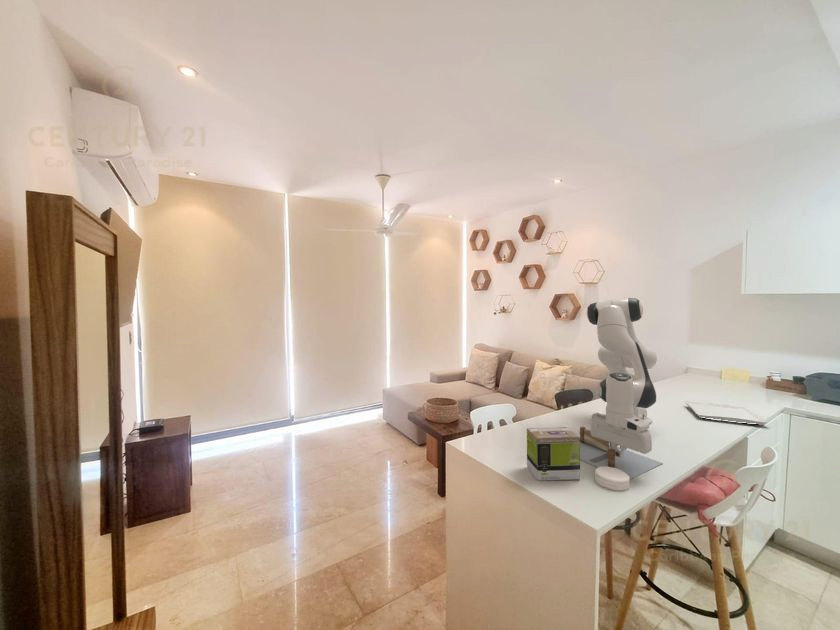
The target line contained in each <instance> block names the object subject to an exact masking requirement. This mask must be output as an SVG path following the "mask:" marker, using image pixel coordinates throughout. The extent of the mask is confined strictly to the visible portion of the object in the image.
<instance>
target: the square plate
mask: <svg viewBox="0 0 840 630" xmlns="http://www.w3.org/2000/svg"><path fill="white" fill-rule="evenodd" d="M684 403H685V404H686V405H687V407H688V408H689V409H691V410H692V412H694V413H695V415H696V414H697V415H698V416H699V417H698V416H697V415H696V416H697V417H698V418H700V417H705V418H713V419H721V420H728V421H736V422H746V423H756V424H759V425H758V426H762V425H765V424H767V423H768V421H767V420H766V419H764V418H762V417H761V416H759V415H758V414H756V413H755V412H753V411H751V410H750V409H748V408H746V407H743V406H737V405H730V404H729V405H728V404H720V403H712V402H711V403H710V402H700V401H698V402H697V401H684ZM689 404H693V405H705V406H713V407H722V408H732V409H743V410H745V411H746V412H747V413H748V414H750V415H751V416H752V417H754V418H755V419H757V420H758V421H755V420H748V419H741V418H733V417H722V416H708V415H699V414H698V413H697V411H696V410H695V409H694V408H693V407H692V406H690V405H689Z"/></svg>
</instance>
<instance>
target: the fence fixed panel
mask: <svg viewBox="0 0 840 630" xmlns="http://www.w3.org/2000/svg"><path fill="white" fill-rule="evenodd" d="M590 430H591V429H588V428H587V427H584V426H580V427H579V437H580V442H581V443H587V444H590V445H593V446H595V447H598V448H601V449H603V450H606V451H608V449H609V444H610V446H611V443H610V442H608V441H605V440H602V439H599V438H596V437H593V436H592V435H591V433H590Z"/></svg>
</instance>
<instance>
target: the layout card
mask: <svg viewBox="0 0 840 630" xmlns="http://www.w3.org/2000/svg"><path fill="white" fill-rule="evenodd" d="M617 447H618V450H619V451H621V449H620V446H617ZM609 449H610V443H609ZM580 462H584V463H587V464H588V465H591V466H593V467H595V468H598V467H608V451H606V450H603V449H601V448H598V447H595V446H593V445H590V444H587V443H581V442H580ZM662 465H664V462H661V461H658V460H657V459H653V458H650V457H647V456H644V455H641V454H638V453H636V452H633V451H630V450H627V449H626V450H625V452H624V453H623V458H620V457H617V456H615V468H616V469H619V470H621V471H623V472H625V473H626V474H627V475H628V476H629V478H630V480H633V479H634V478H636V477H639V476H641V475H643V474H645V473H647V472H650V471H651V470H653V469H655V468H657V467H660V466H662Z"/></svg>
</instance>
